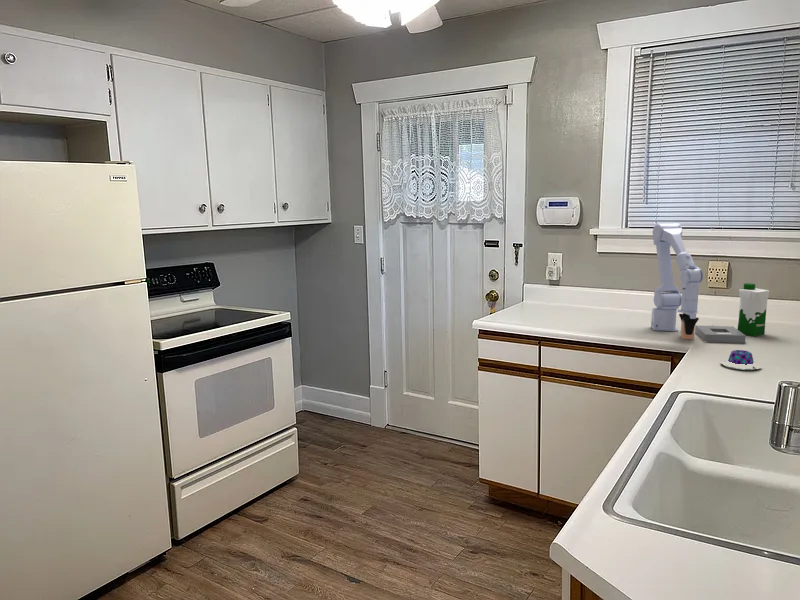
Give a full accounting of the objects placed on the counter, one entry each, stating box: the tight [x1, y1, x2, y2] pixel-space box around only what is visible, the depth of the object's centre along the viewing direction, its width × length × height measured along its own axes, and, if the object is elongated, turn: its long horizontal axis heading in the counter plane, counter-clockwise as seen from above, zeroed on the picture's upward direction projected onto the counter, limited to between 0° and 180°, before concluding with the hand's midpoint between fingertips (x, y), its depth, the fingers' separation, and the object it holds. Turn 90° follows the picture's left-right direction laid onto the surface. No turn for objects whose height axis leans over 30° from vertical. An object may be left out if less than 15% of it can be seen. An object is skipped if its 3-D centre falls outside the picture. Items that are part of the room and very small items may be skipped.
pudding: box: [727, 349, 755, 365], centre depth 200 cm, size 12×12×5 cm
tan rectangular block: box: [680, 319, 695, 340], centre depth 238 cm, size 4×4×7 cm
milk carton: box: [736, 282, 770, 337], centre depth 242 cm, size 9×9×20 cm
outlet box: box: [694, 324, 747, 344], centre depth 238 cm, size 14×16×3 cm
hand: (687, 333), depth 239 cm, fingers closed on tan rectangular block, 4 cm apart
